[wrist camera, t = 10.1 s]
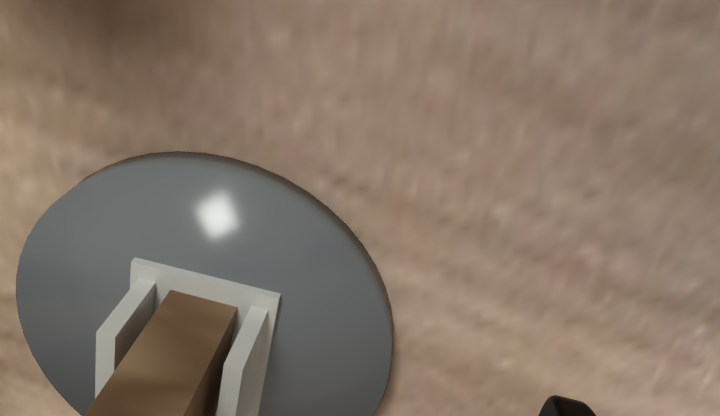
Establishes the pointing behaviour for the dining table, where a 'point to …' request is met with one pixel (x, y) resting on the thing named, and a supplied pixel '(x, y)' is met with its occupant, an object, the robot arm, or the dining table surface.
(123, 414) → the brown wooden block
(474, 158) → the dining table surface
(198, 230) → the grey flat bracketed disc
